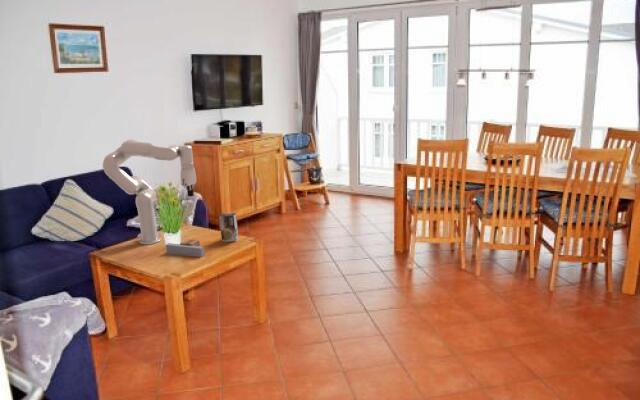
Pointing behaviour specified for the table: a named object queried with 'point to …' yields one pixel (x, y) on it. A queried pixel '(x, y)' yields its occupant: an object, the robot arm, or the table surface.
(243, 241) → the table surface
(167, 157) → the robot arm
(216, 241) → the table surface
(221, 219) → the coffee box
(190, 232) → the table surface
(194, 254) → the slate rail
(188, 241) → the walnut block
